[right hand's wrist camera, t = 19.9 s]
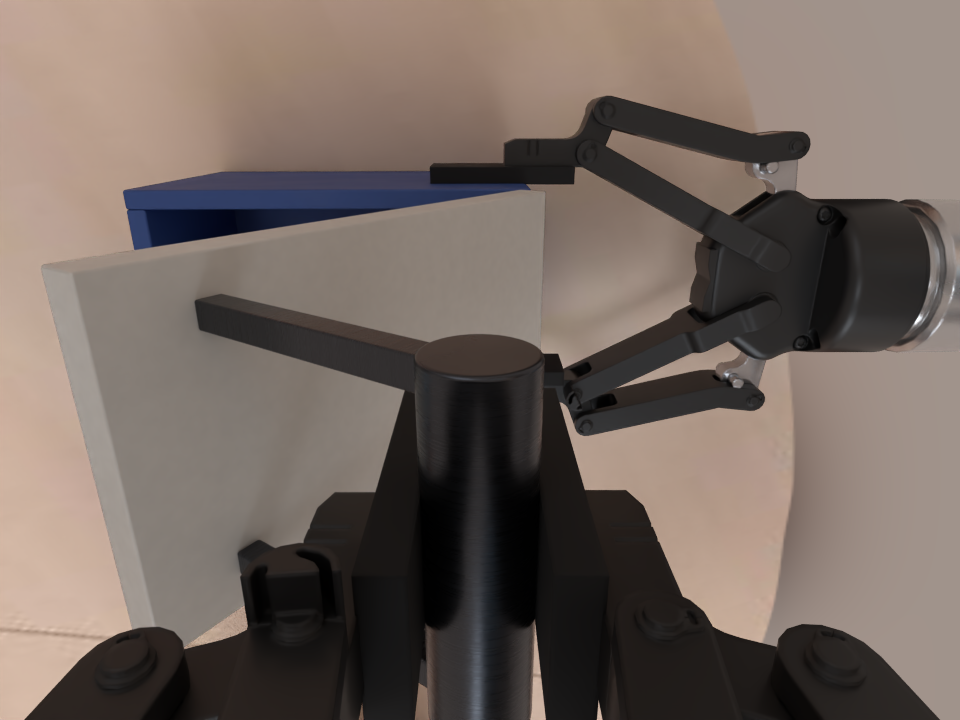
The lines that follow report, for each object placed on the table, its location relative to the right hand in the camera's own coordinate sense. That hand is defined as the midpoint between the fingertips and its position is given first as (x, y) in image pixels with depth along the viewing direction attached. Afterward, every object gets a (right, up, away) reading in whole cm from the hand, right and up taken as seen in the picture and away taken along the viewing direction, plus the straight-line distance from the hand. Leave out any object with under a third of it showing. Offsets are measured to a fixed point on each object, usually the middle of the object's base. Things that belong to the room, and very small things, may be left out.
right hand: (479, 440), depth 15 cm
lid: (-3, +2, +5) cm, 7 cm away
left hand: (-2, +6, +16) cm, 17 cm away
